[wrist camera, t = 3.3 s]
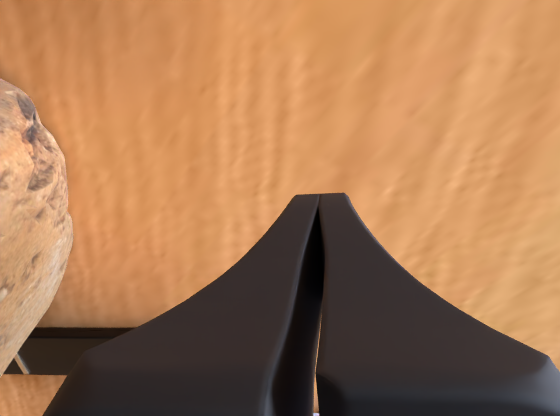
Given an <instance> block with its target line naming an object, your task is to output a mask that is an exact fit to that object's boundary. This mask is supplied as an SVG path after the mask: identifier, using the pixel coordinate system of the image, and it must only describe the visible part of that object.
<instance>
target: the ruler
mask: <svg viewBox="0 0 560 416" xmlns="http://www.w3.org/2000/svg"><path fill="white" fill-rule="evenodd" d="M133 329H135V328H34V329H33V330H32V332H31V333H30V335H29V336H28V337H27V339H26V340H25V342H24V343H23V344H22V346H21V347H20V349H19V350H18V352H17V353H16V355H15V356H14V358H13V359H12V361H11V362H10V364H9V365H8V367H7V368H6V370H5V371H4V373H3V374H25V375H68V374H69V373H70V371H71V370H72V368H73V367H74V365H75V364H76V362H77V361H78V359H79V358H80V357H81V355H82V354H83V352H84V351H86V350H88V349H91V348H93V347H95V346H98V345H100V344H102V343H104V342H106V341H109V340H111V339H113V338H115V337H117V336H120V335H122V334H124V333H126V332H128V331H130V330H133Z"/></svg>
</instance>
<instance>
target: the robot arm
mask: <svg viewBox="0 0 560 416" xmlns="http://www.w3.org/2000/svg"><path fill="white" fill-rule="evenodd" d="M321 315H322V317H321ZM320 323H321V329H320ZM319 331H320V339H319ZM318 340H319V348H318ZM317 348H318V357H317ZM316 357H317V365H316ZM315 365H316V383H317V394H318V405H319V413H313V408H314V377H315ZM43 416H560V372H559V370H558V369H557V368H556V366H555V365H554V364H553V362H552V361H551V359H550V358H549V356H548V355H545V354H543V353H541V352H539V351H537V350H535V349H533V348H531V347H529V346H527V345H525V344H523V343H521V342H519V341H517V340H515V339H513V338H511V337H509V336H507V335H504V334H502V333H500V332H498V331H496V330H494V329H492V328H490V327H489V326H487V325H485V324H483V323H482V322H480V321H478V320H476V319H475V318H473V317H471V316H470V315H468V314H466V313H464V312H463V311H461V310H459V309H458V308H456V307H455V306H453V305H452V304H450V303H448V302H447V301H445V300H444V299H443V298H441V297H440V296H438V295H437V294H436V293H434V292H433V291H431V290H430V289H429V288H427V287H426V286H424V285H423V284H422V283H420V282H419V281H418V280H417V279H415V278H414V277H413V276H412V275H411V274H410V273H409V272H407V271H406V270H405V269H404V268H403V267H402V266H401V265H400V264H399V263H398V262H397V261H396V260H395V259H394V258H393V257H392V256H391V255H390V254H389V253H388V252H387V251H386V250H385V249H384V248H383V247H382V245H381V244H380V243H379V242H378V241H377V240H376V238H375V237H374V236H373V235H372V233H371V232H370V231H369V229H368V228H367V227H366V226H365V224H364V223H363V221H362V220H361V219H360V217H359V216H358V214H357V212H356V211H355V209H354V207H353V206H352V204H351V202H350V199H349V197H348V196H347V195H346V194H345V193H327V194H304V195H295V196H294V197H293V198H292V200H291V201H290V202H289V204H288V205H287V207H286V208H285V209H284V211H283V212H282V213H281V215H280V216H279V217H278V219H277V220H276V221H275V222H274V224H273V225H272V226H271V227H270V228H269V230H268V231H267V232H266V233H265V234H264V235H263V237H262V238H261V239H260V240H259V241H258V242H257V243H256V244H255V245H254V246H253V247H252V248H251V249H250V250H249V251H248V252H247V253H246V254H245V255H244V256H243V257H242V258H241V259H240V260H239V261H238V262H237V263H236V264H235V265H233V266H232V267H231V268H230V269H229V270H227V271H226V272H225V273H224V274H223V275H221V276H220V277H219V278H217V279H216V280H215V281H213V282H212V283H210V284H209V285H207V286H206V287H205V288H203V289H202V290H200V291H199V292H197V293H196V294H194V295H193V296H191V297H190V298H189V299H187V300H185V301H184V302H182V303H181V304H179V305H177V306H175V307H174V308H172V309H170V310H169V311H167V312H165V313H163V314H162V315H160V316H158V317H156V318H154V319H152V320H150V321H149V322H147V323H145V324H143V325H141V326H139V327H137V328H135V329H133V330H130V331H128V332H126V333H124V334H122V335H120V336H117V337H115V338H113V339H111V340H109V341H106V342H104V343H102V344H100V345H98V346H95V347H93V348H91V349H88V350H86V351H84V352H83V354H82V355H81V357H80V358H79V359H78V361H77V362H76V364H75V365H74V367H73V368H72V370H71V371H70V373H69V374H68V376H67V377H66V379H65V380H64V382H63V384H62V385H61V387H60V388H59V390H58V392H57V393H56V395H55V396H54V398H53V400H52V401H51V403H50V404H49V406H48V408H47V409H46V411H45V412H44V414H43Z"/></svg>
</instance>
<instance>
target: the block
mask: <svg viewBox="0 0 560 416" xmlns="http://www.w3.org/2000/svg"><path fill="white" fill-rule="evenodd" d="M67 208H68V185H67V176H66V167H65V158H64V155H63V153H62V151H61V150H60V148H59V146H58V145H57V143H56V141H55V139H54V137H53V135H52V134H51V133H50V132H49V131H48V130H47V129H46V128H45V127H44V126H43V125H42V124H41V122H40V119H39V116H38V113H37V110H36V107H35V105H34V104H33V102H32V100H31V99H30V97H29V96H28V95H26V94H25V93H24V92H23V91H22V90H21V89H19V88H18V87H16V86H14V85H12V84H10V83H8V82H6V81H4V80H2V79H1V78H0V377H1V376H2V374H3V373H4V371H5V370H6V368H7V367H8V365H9V364H10V362H11V361H12V359H13V358H14V356H15V355H16V353H17V352H18V350H19V349H20V347H21V346H22V344H23V343H24V342H25V340H26V339H27V337H28V336H29V335H30V333H31V332H32V330H33V329H34V328H35V326H36V325H37V324H38V322H39V321H40V319H41V318H42V316H43V315H44V314H45V312H46V311H47V309H48V308H49V307H50V304H51V302H52V300H53V298H54V296H55V294H56V292H57V290H58V288H59V286H60V283H61V281H62V278H63V275H64V272H65V270H66V266H67V262H68V257H69V254H70V251H71V248H72V243H73V222H72V219H71V215H70V214H69V213H68V212H67Z"/></svg>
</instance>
